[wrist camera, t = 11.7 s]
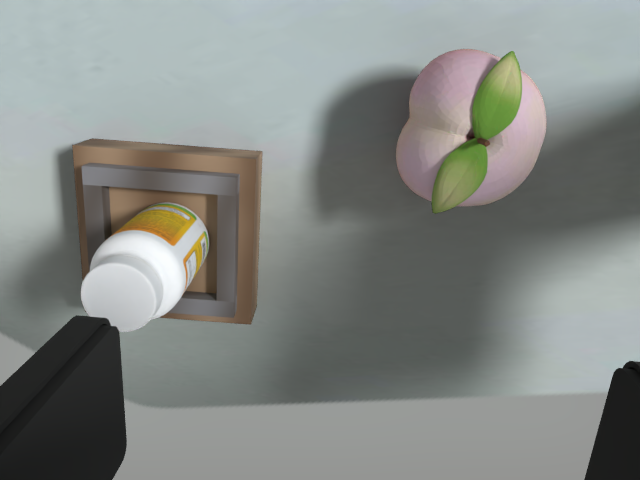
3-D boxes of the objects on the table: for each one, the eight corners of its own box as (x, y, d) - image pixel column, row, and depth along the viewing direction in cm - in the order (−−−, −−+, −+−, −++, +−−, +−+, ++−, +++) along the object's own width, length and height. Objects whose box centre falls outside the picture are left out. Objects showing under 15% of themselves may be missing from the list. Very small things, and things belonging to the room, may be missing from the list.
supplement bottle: (116, 223, 37) (44, 278, 28) (183, 186, 36) (130, 231, 27) (160, 287, 39) (105, 360, 30) (225, 254, 38) (189, 319, 29)
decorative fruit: (490, 200, 39) (539, 246, 30) (378, 174, 39) (391, 214, 29) (534, 65, 36) (605, 69, 27) (414, 36, 36) (442, 30, 26)
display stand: (262, 151, 38) (253, 162, 34) (256, 306, 42) (248, 332, 38) (92, 138, 38) (63, 148, 35) (101, 294, 42) (77, 319, 38)
